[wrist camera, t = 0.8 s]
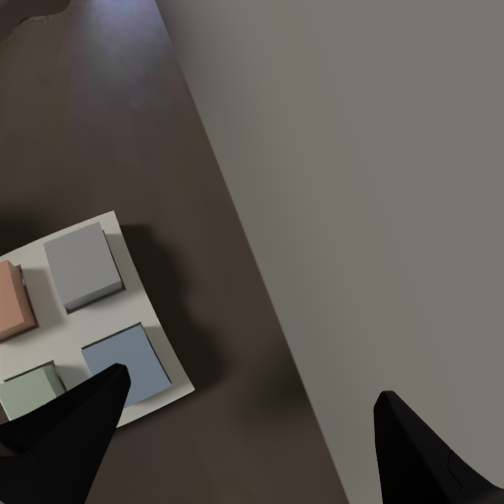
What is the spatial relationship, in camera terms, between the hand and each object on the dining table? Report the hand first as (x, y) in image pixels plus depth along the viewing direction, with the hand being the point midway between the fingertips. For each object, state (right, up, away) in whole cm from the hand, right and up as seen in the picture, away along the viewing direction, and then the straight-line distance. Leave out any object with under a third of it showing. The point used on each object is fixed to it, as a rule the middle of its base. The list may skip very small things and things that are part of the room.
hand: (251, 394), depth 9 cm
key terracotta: (-18, +1, +7) cm, 19 cm away
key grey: (-12, +3, +10) cm, 16 cm away
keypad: (-15, -2, +10) cm, 18 cm away
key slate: (-9, -3, +9) cm, 13 cm away
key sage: (-15, -6, +6) cm, 17 cm away
